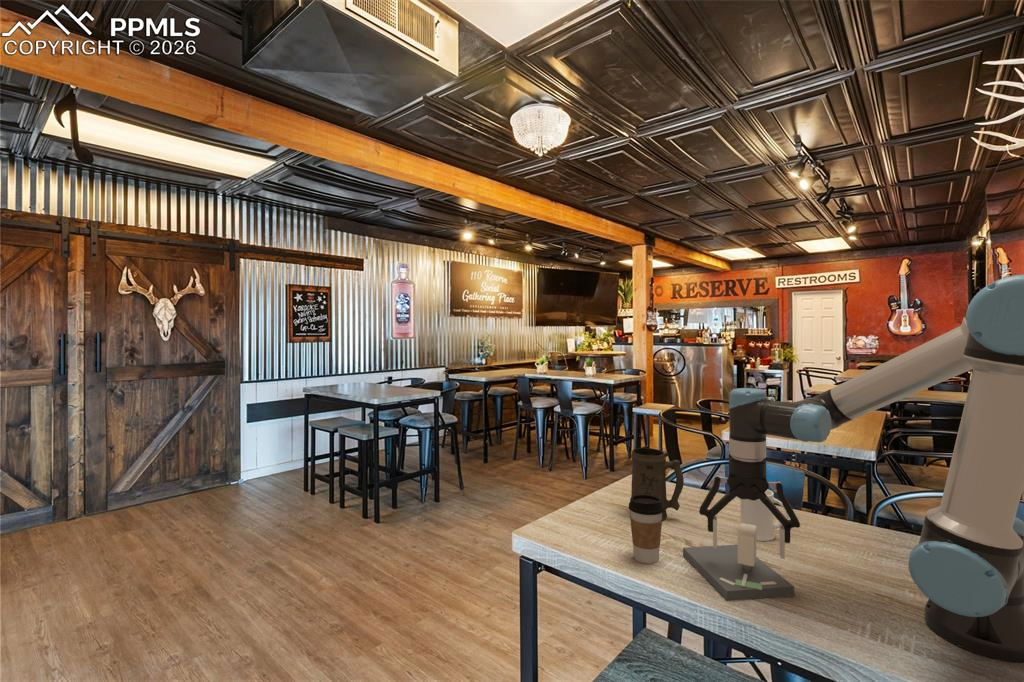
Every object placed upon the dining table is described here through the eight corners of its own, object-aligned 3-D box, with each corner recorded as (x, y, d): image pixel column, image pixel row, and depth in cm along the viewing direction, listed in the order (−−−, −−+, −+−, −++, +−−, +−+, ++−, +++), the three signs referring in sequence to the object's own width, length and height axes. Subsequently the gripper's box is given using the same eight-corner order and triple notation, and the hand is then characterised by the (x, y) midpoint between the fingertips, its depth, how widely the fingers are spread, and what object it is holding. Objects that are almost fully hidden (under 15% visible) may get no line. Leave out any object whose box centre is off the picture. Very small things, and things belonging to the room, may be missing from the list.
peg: (756, 564, 111) (756, 525, 111) (751, 589, 101) (751, 547, 100) (741, 561, 113) (741, 523, 113) (734, 585, 102) (734, 543, 102)
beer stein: (626, 520, 143) (630, 453, 142) (628, 506, 153) (632, 444, 152) (681, 529, 138) (686, 460, 137) (679, 515, 149) (684, 451, 148)
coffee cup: (639, 568, 114) (639, 505, 114) (622, 552, 122) (622, 494, 122) (671, 563, 116) (670, 502, 116) (651, 548, 125) (651, 490, 124)
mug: (791, 537, 130) (791, 492, 130) (783, 548, 124) (784, 501, 123) (744, 525, 138) (744, 483, 138) (735, 535, 132) (735, 491, 131)
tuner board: (795, 596, 102) (795, 587, 101) (727, 601, 100) (727, 591, 100) (740, 552, 122) (740, 544, 122) (683, 555, 120) (683, 547, 120)
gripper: (809, 458, 107) (809, 553, 107) (689, 448, 117) (690, 535, 118) (814, 467, 100) (814, 568, 101) (687, 456, 110) (687, 548, 111)
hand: (747, 551), depth 109 cm, fingers open, 13 cm apart
